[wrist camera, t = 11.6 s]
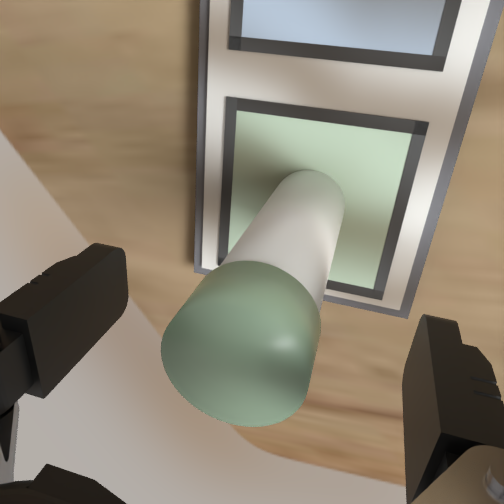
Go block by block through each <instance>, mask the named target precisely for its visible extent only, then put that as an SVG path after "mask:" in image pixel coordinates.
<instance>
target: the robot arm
mask: <svg viewBox="0 0 504 504" xmlns="http://www.w3.org/2000/svg"><path fill="white" fill-rule="evenodd" d="M127 302H128V282H127V268H126V256H125V252H124V250H123V249H122V248H118V247H114V246H109V245H104V244H100V243H94V244H92V245H91V246H89V247H88V248H86V249H85V250H84V251H82V252H81V253H80V254H78V255H77V256H73V257H70V258H68V259H65V260H63V261H60V262H57V263H55V264H54V265H53V266H51V267H50V268H48V269H47V270H45V271H44V272H42V275H38V276H37V277H35V278H34V279H32V280H31V282H30V283H27V284H25V285H24V286H22V287H21V288H20V289H18V290H17V291H15V292H14V293H13V294H11V295H10V296H8V297H7V298H6V299H4V300H3V301H1V302H0V504H126V503H125V502H124V501H122V500H121V499H120V498H118V497H117V496H116V495H114V494H113V493H111V492H110V491H109V490H107V489H106V488H104V487H103V486H102V485H101V484H99V483H98V482H97V481H95V480H93V479H90V478H88V477H85V476H82V475H78V474H76V473H73V472H70V471H67V470H64V469H61V468H58V467H55V466H52V465H50V464H46V465H45V466H44V468H43V469H42V470H41V472H40V473H39V474H38V475H37V476H36V478H35V479H34V480H28V481H15V482H14V473H13V472H14V462H15V451H16V440H17V429H18V418H19V405H18V401H17V400H18V399H19V398H20V397H21V396H22V395H23V394H24V393H27V394H30V395H33V396H37V397H40V398H43V399H44V398H45V397H46V396H47V395H48V394H49V393H50V392H51V391H52V390H53V389H54V388H55V386H56V385H57V384H58V383H59V382H60V381H61V380H62V379H63V378H64V377H65V376H66V375H67V374H68V373H69V372H70V370H71V369H72V368H73V367H74V366H75V365H76V364H77V363H78V362H79V361H80V360H81V359H82V358H83V357H84V355H85V354H86V353H87V352H88V351H89V350H90V349H91V348H92V347H93V346H94V345H95V344H96V343H97V341H98V340H99V339H100V338H101V337H102V336H103V335H104V334H105V333H106V332H107V331H108V330H109V329H110V327H111V326H112V325H113V324H114V323H115V322H116V321H117V320H118V319H119V318H120V317H121V316H122V314H123V313H124V310H125V309H126V306H127ZM496 383H497V381H496V378H495V375H494V372H493V368H492V365H491V364H490V362H489V361H488V360H487V359H486V357H485V356H484V355H483V354H482V353H481V351H480V350H479V349H478V348H477V347H474V346H469V345H465V344H462V340H461V335H460V331H459V327H458V323H457V322H456V321H454V320H449V319H444V318H440V317H435V316H430V315H426V314H423V315H422V317H421V319H420V321H419V324H418V327H417V330H416V333H415V336H414V339H413V342H412V345H411V348H410V351H409V354H408V357H407V361H406V364H405V368H404V373H403V381H402V396H403V422H404V448H405V474H406V499H407V504H504V404H503V401H501V394H500V391H499V388H498V386H497V385H496Z"/></svg>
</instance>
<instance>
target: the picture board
mask: <svg viewBox="0 0 504 504" xmlns="http://www.w3.org/2000/svg"><path fill="white" fill-rule="evenodd" d="M503 7H504V0H200V20H199V66H198V113H197V159H196V205H195V252H194V272H195V273H200V274H204V275H207V274H208V273H210V272H211V271H212V270H214V269H215V268H217V267H219V266H220V265H221V263H222V262H223V261H224V259H225V258H226V257H227V255H228V254H229V252H230V251H231V250H232V248H233V247H234V246H235V244H236V243H237V241H238V240H239V239H240V237H241V236H242V235H243V233H244V232H245V230H246V229H247V228H248V226H249V225H250V224H251V222H252V221H253V220H254V218H255V217H256V215H257V214H258V213H259V211H260V210H261V209H262V207H263V206H264V204H265V203H266V202H267V200H268V199H269V198H270V196H271V195H272V193H273V192H274V191H275V189H276V188H277V187H278V185H279V184H280V183H281V181H282V180H283V179H284V178H286V177H287V176H288V175H290V174H292V173H294V172H297V171H301V170H315V171H319V172H322V173H324V174H326V175H328V176H329V177H331V178H332V179H333V180H334V181H335V182H336V183H337V184H338V185H339V187H340V189H341V191H342V193H343V196H344V200H345V211H344V215H343V219H342V223H341V227H340V231H339V235H338V239H337V244H336V248H335V252H334V256H333V260H332V264H331V268H330V272H329V276H328V280H327V284H326V288H325V293H324V297H323V301H328V302H332V303H337V304H341V305H346V306H351V307H355V308H360V309H364V310H369V311H374V312H378V313H383V314H387V315H392V316H396V317H401V318H406V319H408V316H409V313H410V310H411V306H412V303H413V300H414V297H415V293H416V290H417V287H418V284H419V280H420V277H421V274H422V271H423V267H424V264H425V261H426V257H427V254H428V251H429V248H430V244H431V241H432V238H433V235H434V231H435V228H436V225H437V222H438V218H439V215H440V212H441V209H442V205H443V202H444V199H445V196H446V192H447V189H448V186H449V183H450V179H451V176H452V173H453V169H454V166H455V163H456V160H457V156H458V153H459V150H460V147H461V143H462V140H463V137H464V134H465V130H466V127H467V124H468V121H469V117H470V114H471V111H472V108H473V104H474V101H475V98H476V95H477V91H478V88H479V85H480V82H481V78H482V75H483V72H484V68H485V65H486V62H487V59H488V55H489V52H490V49H491V46H492V42H493V39H494V36H495V33H496V29H497V26H498V23H499V20H500V16H501V13H502V10H503Z"/></svg>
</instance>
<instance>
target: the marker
mask: <svg viewBox="0 0 504 504" xmlns="http://www.w3.org/2000/svg"><path fill="white" fill-rule="evenodd" d="M344 211H345V200H344V196H343V193H342V191H341V189H340V187H339V185H338V184H337V183H336V182H335V181H334V180H333V179H332V178H331V177H329V176H328V175H326V174H324V173H322V172H319V171H315V170H301V171H297V172H294V173H292V174H290V175H288V176H287V177H286V178H284V179H283V180H282V181H281V183H280V184H279V185H278V187H277V188H276V189H275V191H274V192H273V193H272V195H271V196H270V198H269V199H268V200H267V202H266V203H265V204H264V206H263V207H262V209H261V210H260V211H259V213H258V214H257V215H256V217H255V218H254V220H253V221H252V222H251V224H250V225H249V226H248V228H247V229H246V230H245V232H244V233H243V235H242V236H241V237H240V239H239V240H238V241H237V243H236V244H235V246H234V247H233V248H232V250H231V251H230V252H229V254H228V255H227V257H226V258H225V259H224V261H223V262H222V263H221V265H220V266H219V267H217V268H215V269H214V270H212V271H211V272H210V273H208V274H207V275H206V276H205V278H204V279H203V280H202V281H201V282H200V284H199V285H198V286H197V288H196V289H195V290H194V292H193V293H192V294H191V296H190V297H189V298H188V300H187V301H186V302H185V304H184V305H183V306H182V307H181V309H180V310H179V311H178V313H177V314H176V315H175V317H174V318H173V319H172V321H171V322H170V323H169V325H168V326H167V328H166V330H165V332H164V335H163V338H162V342H161V356H162V361H163V365H164V368H165V371H166V373H167V375H168V377H169V379H170V381H171V382H172V384H173V385H174V387H175V388H176V389H177V390H178V392H179V393H180V394H181V395H182V396H183V397H184V398H185V399H186V400H187V401H189V403H191V404H192V405H193V406H195V407H196V408H198V409H199V410H201V411H202V412H204V413H205V414H207V415H209V416H211V417H213V418H216V419H218V420H221V421H224V422H226V423H230V424H234V425H239V426H247V427H259V426H267V425H272V424H275V423H279V422H281V421H283V420H285V419H287V418H288V417H290V416H291V415H293V414H294V413H295V412H296V411H297V410H298V409H299V408H300V406H301V405H302V404H303V401H304V399H305V397H306V394H307V391H308V387H309V383H310V378H311V374H312V369H313V365H314V360H315V356H316V351H317V347H318V342H319V338H320V333H321V319H320V314H319V313H320V309H321V305H322V301H323V297H324V293H325V288H326V284H327V280H328V276H329V272H330V268H331V264H332V260H333V256H334V252H335V248H336V244H337V239H338V235H339V231H340V227H341V223H342V219H343V215H344Z"/></svg>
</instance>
